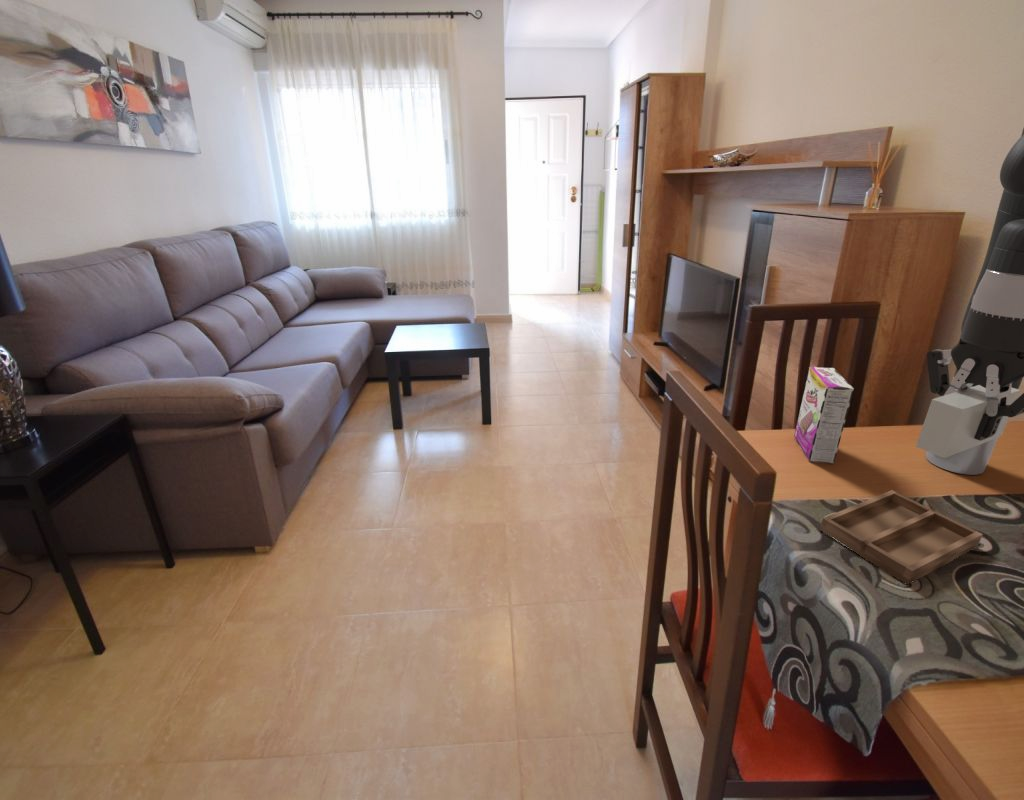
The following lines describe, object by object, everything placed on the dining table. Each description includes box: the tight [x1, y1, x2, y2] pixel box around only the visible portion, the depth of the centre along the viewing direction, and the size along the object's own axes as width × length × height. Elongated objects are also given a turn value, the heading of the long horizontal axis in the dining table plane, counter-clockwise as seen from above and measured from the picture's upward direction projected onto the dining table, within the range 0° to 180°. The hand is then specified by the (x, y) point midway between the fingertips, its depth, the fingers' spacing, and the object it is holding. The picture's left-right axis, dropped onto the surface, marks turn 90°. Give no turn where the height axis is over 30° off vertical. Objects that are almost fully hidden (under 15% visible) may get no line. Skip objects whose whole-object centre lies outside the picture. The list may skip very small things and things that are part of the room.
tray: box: [819, 489, 983, 585], centre depth 82 cm, size 18×13×2 cm
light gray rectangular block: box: [915, 385, 1022, 458], centre depth 71 cm, size 14×4×7 cm, turn 116°
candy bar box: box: [793, 366, 855, 465], centre depth 106 cm, size 11×5×16 cm, turn 168°
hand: (963, 431), depth 72 cm, fingers closed on light gray rectangular block, 3 cm apart
